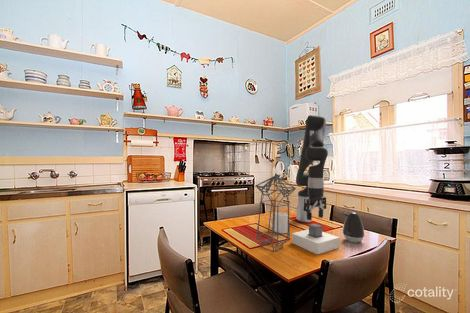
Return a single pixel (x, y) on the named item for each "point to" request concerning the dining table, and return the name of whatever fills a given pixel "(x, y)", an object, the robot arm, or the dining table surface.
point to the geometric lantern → (274, 209)
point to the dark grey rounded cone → (353, 228)
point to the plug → (315, 230)
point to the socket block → (315, 242)
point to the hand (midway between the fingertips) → (315, 218)
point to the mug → (280, 222)
